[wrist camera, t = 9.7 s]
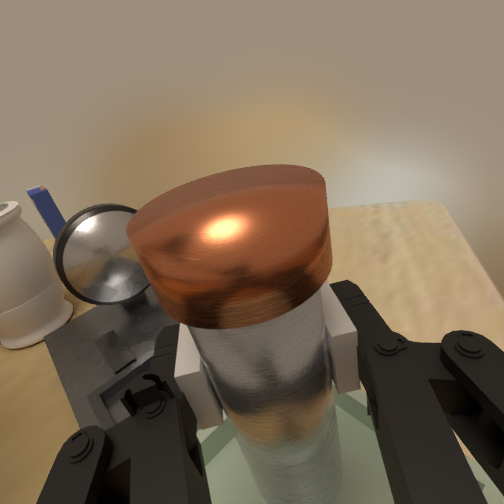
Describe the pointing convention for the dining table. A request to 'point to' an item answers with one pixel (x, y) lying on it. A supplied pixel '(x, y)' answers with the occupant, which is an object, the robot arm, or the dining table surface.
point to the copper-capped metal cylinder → (255, 313)
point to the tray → (352, 450)
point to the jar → (27, 284)
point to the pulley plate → (103, 314)
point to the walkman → (47, 209)
